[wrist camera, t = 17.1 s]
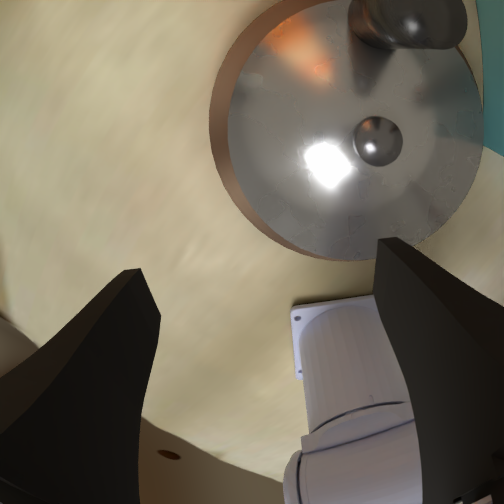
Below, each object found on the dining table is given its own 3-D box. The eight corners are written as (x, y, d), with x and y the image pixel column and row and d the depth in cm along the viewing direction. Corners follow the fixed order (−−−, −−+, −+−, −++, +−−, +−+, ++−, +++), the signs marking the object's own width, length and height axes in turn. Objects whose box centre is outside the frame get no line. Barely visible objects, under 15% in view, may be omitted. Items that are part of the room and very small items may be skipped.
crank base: (457, 236, 19) (466, 245, 18) (238, 264, 21) (238, 277, 20) (466, 9, 11) (478, 8, 10) (188, 5, 12) (183, 1, 11)
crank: (448, 247, 18) (492, 304, 13) (237, 254, 18) (233, 329, 14) (480, 27, 10) (552, 33, 5) (221, -12, 10) (203, -53, 6)
